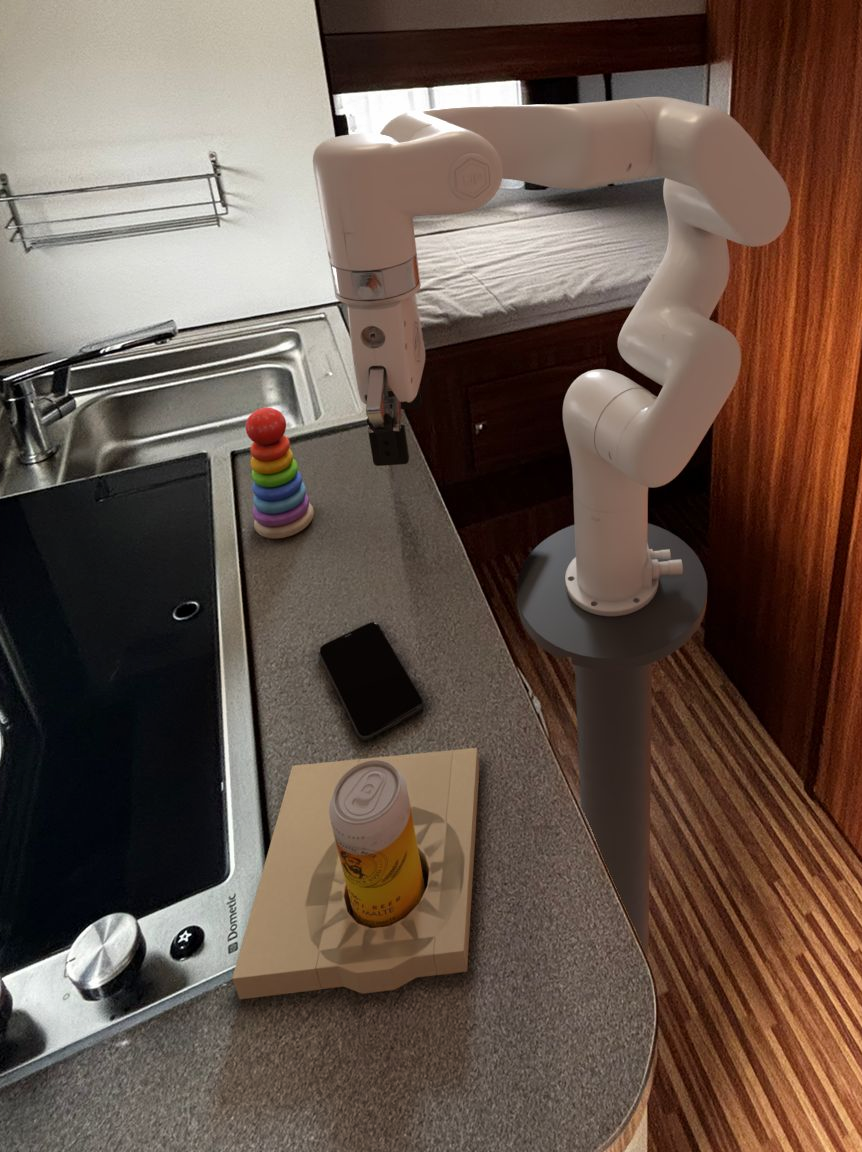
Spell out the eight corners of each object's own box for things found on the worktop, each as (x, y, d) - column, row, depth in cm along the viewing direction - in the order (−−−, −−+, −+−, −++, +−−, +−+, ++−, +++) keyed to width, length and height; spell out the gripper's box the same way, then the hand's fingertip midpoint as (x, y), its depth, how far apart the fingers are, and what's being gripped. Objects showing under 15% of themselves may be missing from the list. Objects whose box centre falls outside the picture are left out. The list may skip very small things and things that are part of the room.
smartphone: (427, 709, 89) (377, 623, 100) (427, 703, 89) (376, 618, 100) (361, 746, 85) (316, 652, 96) (360, 740, 85) (315, 647, 96)
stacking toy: (312, 536, 115) (288, 424, 107) (251, 546, 113) (222, 432, 105) (317, 501, 122) (295, 393, 114) (260, 510, 120) (233, 401, 112)
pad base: (479, 767, 83) (477, 747, 82) (466, 981, 66) (463, 960, 65) (297, 785, 81) (292, 765, 80) (236, 1009, 64) (228, 988, 63)
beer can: (340, 928, 70) (310, 816, 63) (378, 857, 75) (354, 747, 69) (403, 950, 68) (380, 837, 62) (437, 876, 73) (419, 765, 67)
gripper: (405, 313, 66) (428, 485, 73) (429, 239, 81) (446, 387, 89) (309, 318, 65) (342, 491, 72) (352, 242, 81) (375, 391, 88)
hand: (399, 433), depth 80 cm, fingers open, 9 cm apart
